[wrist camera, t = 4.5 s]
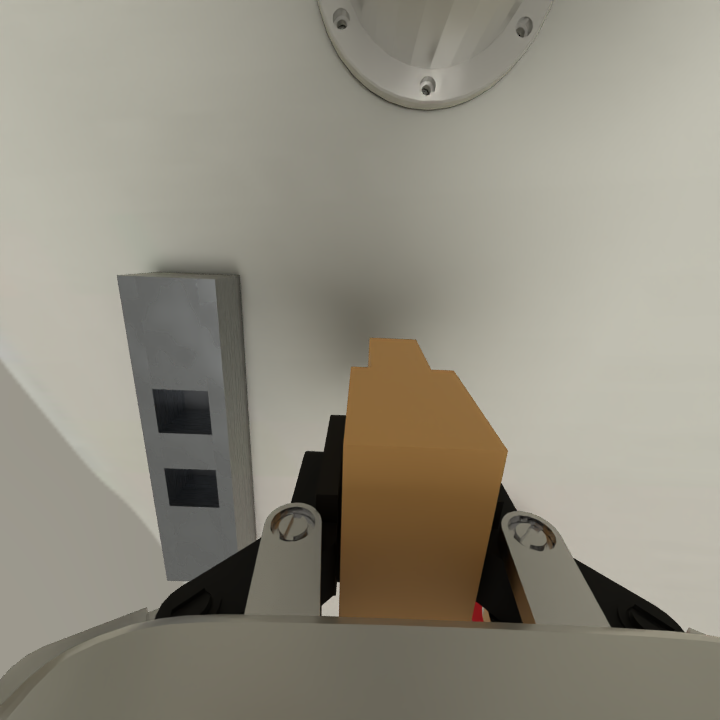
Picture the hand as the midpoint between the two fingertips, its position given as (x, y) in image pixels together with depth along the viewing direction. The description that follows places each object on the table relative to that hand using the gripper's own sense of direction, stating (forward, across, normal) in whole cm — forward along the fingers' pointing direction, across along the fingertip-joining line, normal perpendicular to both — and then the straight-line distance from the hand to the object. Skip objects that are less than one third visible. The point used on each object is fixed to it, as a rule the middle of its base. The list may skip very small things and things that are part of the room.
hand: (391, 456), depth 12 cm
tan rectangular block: (+3, 0, 0) cm, 3 cm away
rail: (+13, +12, +6) cm, 19 cm away
